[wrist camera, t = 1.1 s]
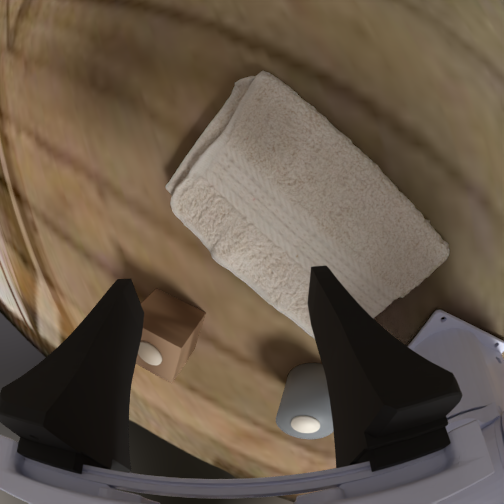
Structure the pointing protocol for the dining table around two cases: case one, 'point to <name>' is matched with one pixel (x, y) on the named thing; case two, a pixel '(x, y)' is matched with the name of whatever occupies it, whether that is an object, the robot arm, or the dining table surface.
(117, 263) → the dining table surface
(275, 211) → the washcloth
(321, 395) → the slate cylinder
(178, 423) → the dining table surface
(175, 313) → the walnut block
